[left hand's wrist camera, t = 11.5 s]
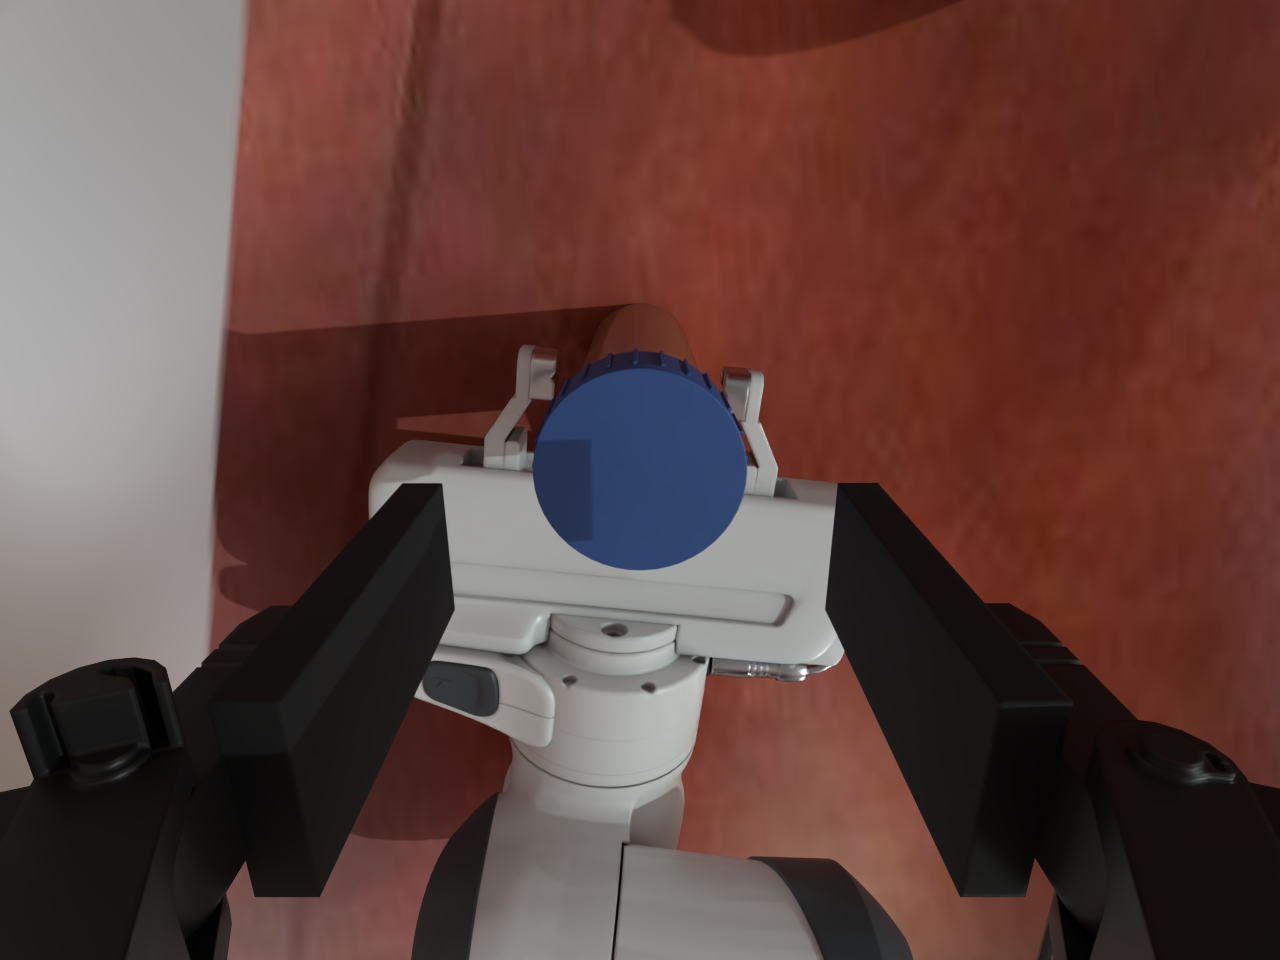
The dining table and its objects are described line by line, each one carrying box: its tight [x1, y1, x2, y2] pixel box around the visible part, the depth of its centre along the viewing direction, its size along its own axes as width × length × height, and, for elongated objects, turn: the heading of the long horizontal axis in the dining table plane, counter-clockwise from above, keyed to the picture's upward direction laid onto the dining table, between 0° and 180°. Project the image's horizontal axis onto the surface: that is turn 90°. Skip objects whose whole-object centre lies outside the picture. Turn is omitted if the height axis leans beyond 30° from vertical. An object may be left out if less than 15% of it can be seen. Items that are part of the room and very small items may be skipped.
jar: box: [581, 304, 698, 370], centre depth 26 cm, size 5×5×17 cm
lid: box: [532, 349, 748, 571], centre depth 19 cm, size 6×6×2 cm
